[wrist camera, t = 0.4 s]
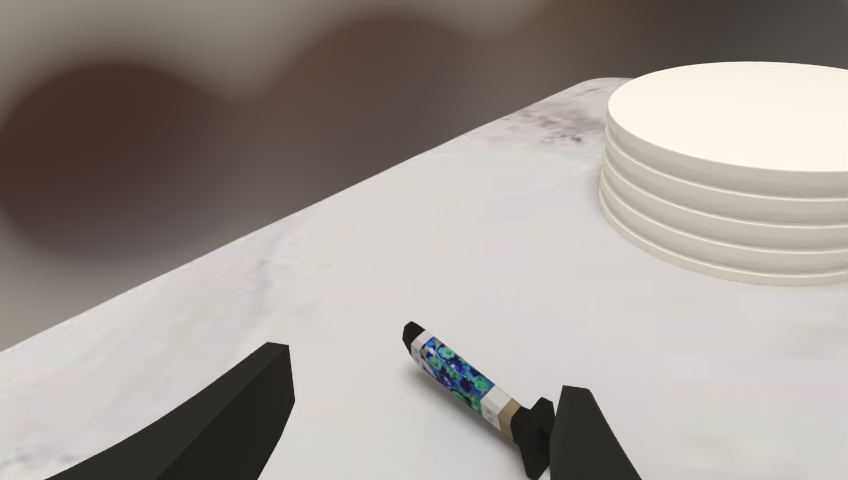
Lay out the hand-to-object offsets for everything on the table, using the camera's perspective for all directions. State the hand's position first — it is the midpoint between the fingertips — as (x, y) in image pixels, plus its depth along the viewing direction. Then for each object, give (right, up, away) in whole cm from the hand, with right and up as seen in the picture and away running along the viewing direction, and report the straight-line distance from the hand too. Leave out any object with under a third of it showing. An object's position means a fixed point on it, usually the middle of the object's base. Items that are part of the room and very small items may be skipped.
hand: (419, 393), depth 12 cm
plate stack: (+34, +8, +40) cm, 54 cm away
